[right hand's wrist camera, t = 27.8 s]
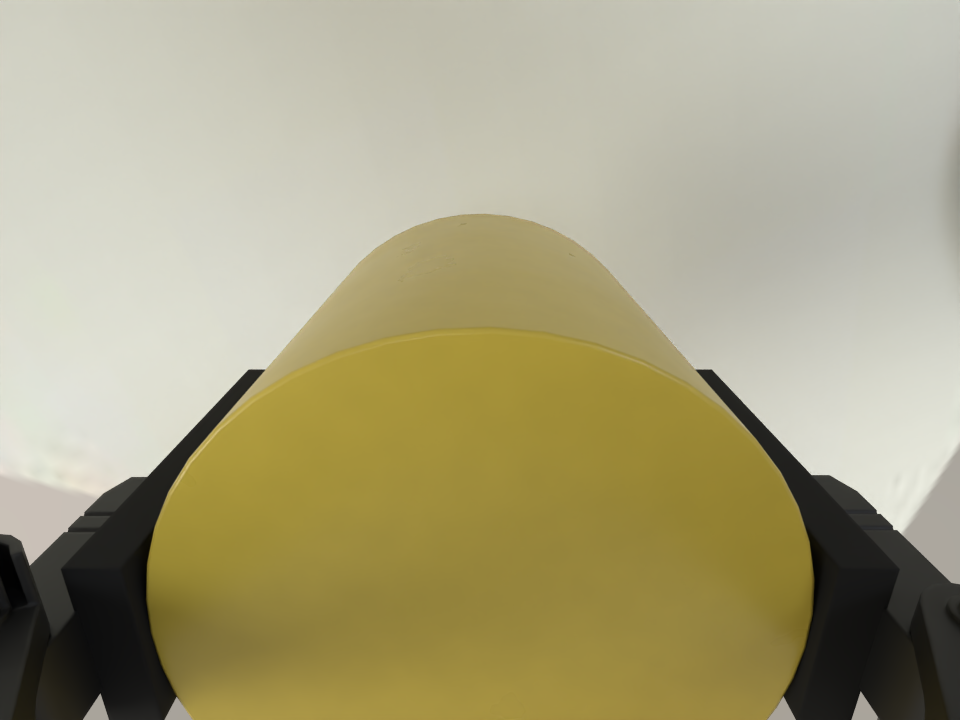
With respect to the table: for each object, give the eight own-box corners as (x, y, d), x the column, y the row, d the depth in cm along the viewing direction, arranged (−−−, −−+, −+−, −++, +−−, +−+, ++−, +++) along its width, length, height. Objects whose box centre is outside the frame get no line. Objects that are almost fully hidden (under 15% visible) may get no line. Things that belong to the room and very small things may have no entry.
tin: (555, 145, 14) (663, 174, 6) (692, 437, 17) (893, 734, 9) (250, 316, 16) (-7, 531, 7) (422, 557, 19) (375, 906, 10)
